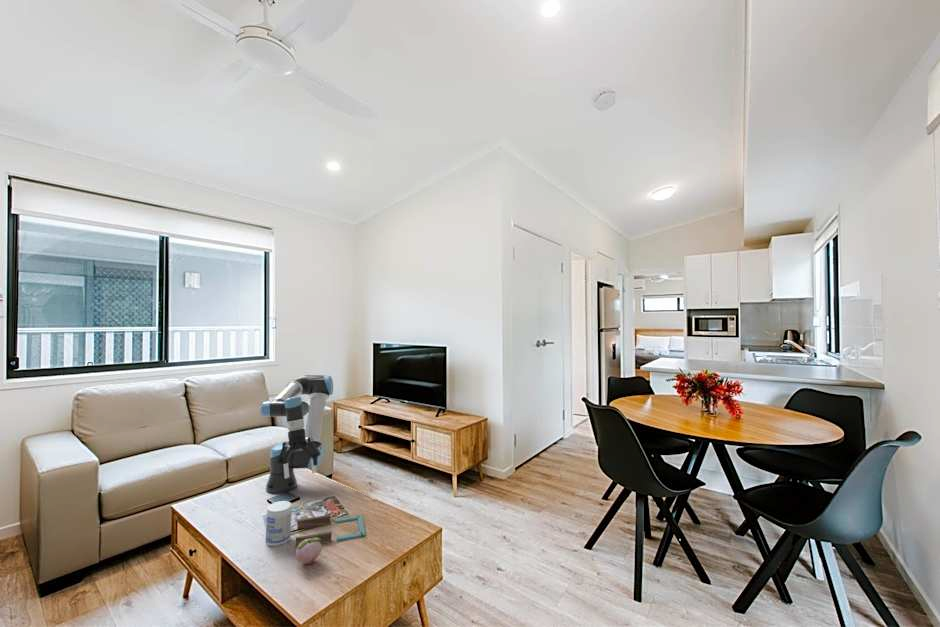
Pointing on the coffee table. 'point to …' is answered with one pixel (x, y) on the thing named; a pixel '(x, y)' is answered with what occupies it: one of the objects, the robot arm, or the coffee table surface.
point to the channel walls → (311, 523)
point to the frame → (350, 536)
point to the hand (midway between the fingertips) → (300, 475)
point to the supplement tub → (278, 523)
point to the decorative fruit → (308, 550)
